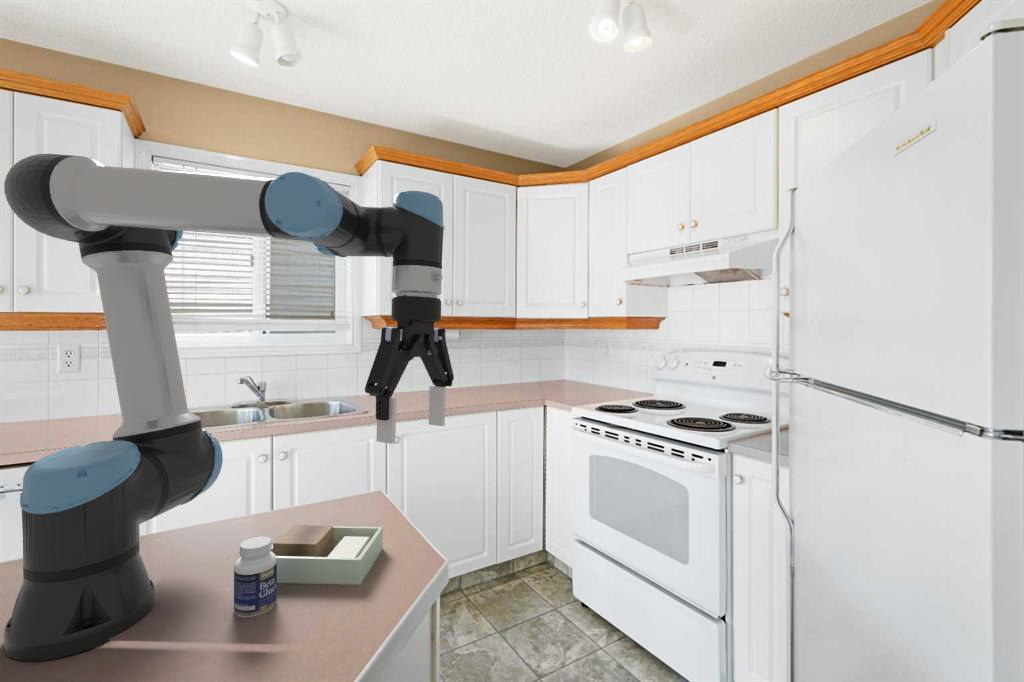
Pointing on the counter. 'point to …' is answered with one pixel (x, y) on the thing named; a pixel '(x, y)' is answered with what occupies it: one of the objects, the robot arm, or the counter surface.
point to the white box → (350, 547)
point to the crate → (333, 561)
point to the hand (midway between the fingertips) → (413, 433)
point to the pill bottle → (255, 578)
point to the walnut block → (305, 541)
